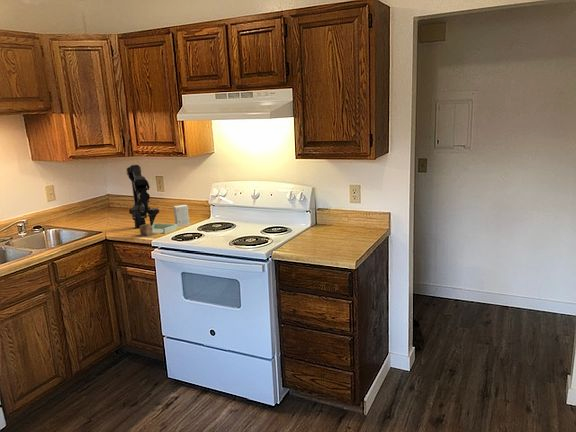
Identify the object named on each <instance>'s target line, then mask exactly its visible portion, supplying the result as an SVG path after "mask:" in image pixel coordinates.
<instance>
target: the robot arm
mask: <svg viewBox="0 0 576 432" xmlns="http://www.w3.org/2000/svg"><path fill="white" fill-rule="evenodd" d="M126 175H127V176H128V179H129V181H131V188H132V195H133V196H132V197H133V206H132V207H131V208H130V209H129V212H128V213H129V214H130V215H131V218H132V220H133V221H134V227H133V229H136V230H137V229H138V230H140V226H141V225H144V224H147V223H146V222H147V221H146V219H147V218H148V217H149V224H151V226H152V225H153V224H154V222H155V219H156V217H157V215H158V214H159V213H160V209H159V208H158V207H157V208H151V207H150V206H149V203H150V198H151V197H150V194H149V192H147V191H149V190H150V184H149V181H148V180H147V179H146V177H145V176H143V175H142V169H141V166H140V165H139V164H131V165H130V166H128V167H127V168H126Z"/></svg>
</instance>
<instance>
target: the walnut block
mask: <svg viewBox="0 0 576 432" xmlns="http://www.w3.org/2000/svg"><path fill="white" fill-rule="evenodd" d="M139 232H140V233H139V234H141V236H149V235H151V234H153V231H152V226H151V224H150V223H148V224H147V223H146V224H144V225H141V226H140V229H139Z"/></svg>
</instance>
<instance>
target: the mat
mask: <svg viewBox="0 0 576 432" xmlns="http://www.w3.org/2000/svg"><path fill="white" fill-rule="evenodd" d="M158 234H159V233H153V234H151V235H149V236H141V233H139V234H138V235H136V237H141V238H150V237H153V236H155V235H158Z"/></svg>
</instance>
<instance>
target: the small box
mask: <svg viewBox="0 0 576 432" xmlns="http://www.w3.org/2000/svg"><path fill="white" fill-rule="evenodd" d="M173 213H174V221H175V222H174V224H178V228H179V227H185V226H190V224H191V223H190V215H189V207H188V205H187V204H180V205H174V206H173Z"/></svg>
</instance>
